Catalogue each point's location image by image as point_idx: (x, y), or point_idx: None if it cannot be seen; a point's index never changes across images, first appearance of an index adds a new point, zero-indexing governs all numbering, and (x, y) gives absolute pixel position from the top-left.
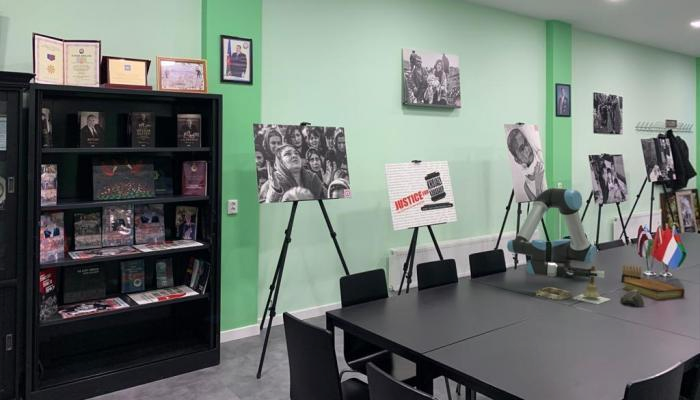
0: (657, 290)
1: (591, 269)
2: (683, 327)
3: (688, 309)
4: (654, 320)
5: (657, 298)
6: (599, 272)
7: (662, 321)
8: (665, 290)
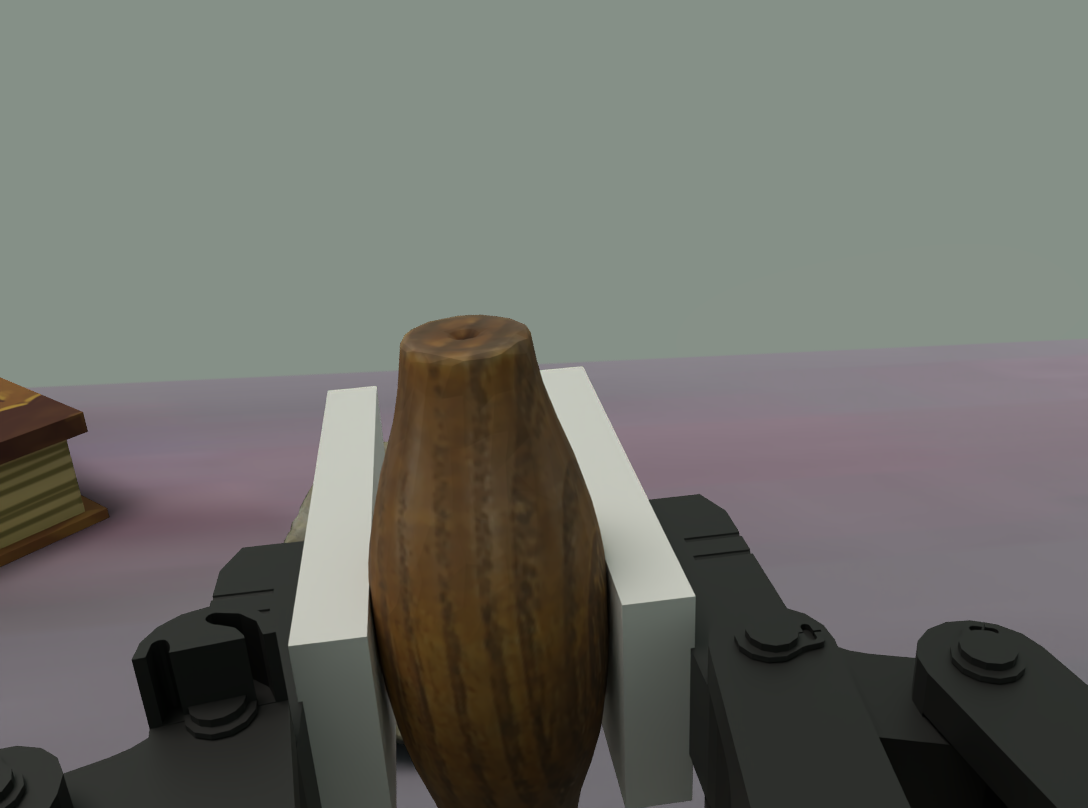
0: (57, 416)
1: (571, 512)
2: (983, 370)
3: (377, 387)
4: (1007, 468)
5: (82, 505)
6: (610, 425)
7: (967, 438)
8: (26, 389)
